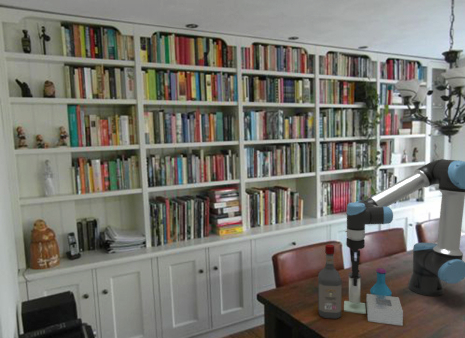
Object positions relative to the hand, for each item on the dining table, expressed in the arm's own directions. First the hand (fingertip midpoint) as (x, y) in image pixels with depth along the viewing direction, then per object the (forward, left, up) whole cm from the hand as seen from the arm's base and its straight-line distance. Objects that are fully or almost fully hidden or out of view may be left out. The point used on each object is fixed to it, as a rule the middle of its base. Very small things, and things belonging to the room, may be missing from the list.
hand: (354, 289), depth 156 cm
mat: (0, 0, -9) cm, 9 cm away
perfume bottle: (-12, -10, -9) cm, 18 cm away
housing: (-12, +4, -9) cm, 15 cm away
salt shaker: (0, 0, -5) cm, 5 cm away
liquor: (+10, +8, -9) cm, 16 cm away
